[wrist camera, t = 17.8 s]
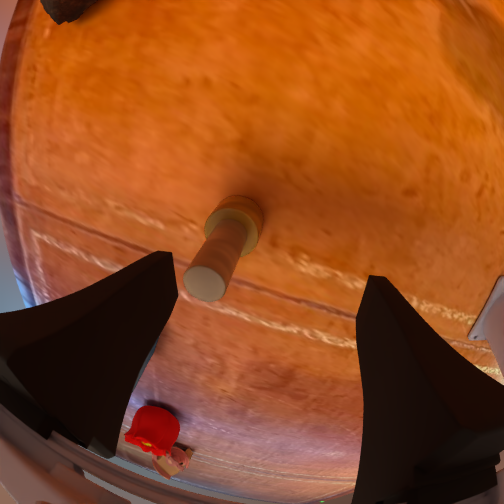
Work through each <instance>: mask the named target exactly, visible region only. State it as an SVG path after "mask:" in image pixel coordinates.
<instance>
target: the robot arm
mask: <svg viewBox="0 0 504 504" xmlns="http://www.w3.org/2000/svg"><path fill="white" fill-rule="evenodd" d="M177 298H178V290H177V283H176V277H175V270H174V263H173V256H172V252H165V251H156V252H153V253H151V254H149V255H147V256H145V257H143V258H141V259H139V260H138V261H136V262H134V263H132V264H130V265H128V266H127V267H125V268H123V269H121V270H119V271H117V272H116V273H114V274H112V275H110V276H108V277H106V278H104V279H102V280H100V281H98V282H96V283H94V284H93V285H90V286H88V287H86V288H84V289H82V290H80V291H77V292H75V293H72V294H70V295H68V296H65V297H62V298H59V299H56V300H53V301H50V302H47V303H45V304H41V305H38V306H34V307H30V308H26V309H22V310H17V311H12V312H6V313H0V483H1V485H2V486H3V487H4V488H5V490H6V491H7V492H8V493H9V495H10V496H11V497H12V498H13V499H14V500H15V502H16V503H17V504H131V502H130V501H129V500H127V499H124V498H122V497H120V496H118V495H116V494H114V493H112V492H110V491H108V490H106V489H104V488H103V487H101V486H99V485H97V484H95V483H93V482H92V481H90V480H88V479H86V478H85V476H84V472H83V470H85V471H86V472H88V473H90V474H92V475H94V476H96V477H98V478H100V479H101V480H103V481H105V482H107V483H110V484H111V485H114V486H116V487H118V488H120V489H122V490H124V491H127V492H129V493H131V494H133V495H136V496H138V497H141V498H143V499H146V500H149V501H151V502H154V503H157V504H244V503H238V502H232V501H227V500H222V499H217V498H213V497H209V496H204V495H201V494H196V493H193V492H189V491H186V490H182V489H179V488H176V487H172V486H169V485H166V484H163V483H161V482H157V481H155V480H152V479H149V478H147V477H144V476H142V475H139V474H136V473H134V472H132V471H129V470H127V469H124V468H122V467H120V466H118V465H116V464H113V463H111V462H109V461H107V460H105V459H103V458H101V457H99V456H97V455H95V454H93V453H91V452H89V451H87V450H85V449H88V450H90V451H92V452H94V453H96V454H98V455H100V456H102V457H104V458H107V459H109V458H112V457H114V456H115V453H116V448H117V443H118V438H119V434H120V429H121V426H122V422H123V419H124V415H125V412H126V408H127V405H128V402H129V399H130V396H131V393H132V391H133V388H134V385H135V383H136V380H137V378H138V375H139V373H140V370H141V368H142V366H143V364H144V362H145V360H146V358H147V356H148V355H149V353H150V351H151V349H152V347H153V346H154V344H155V342H156V340H157V339H158V337H159V335H160V334H161V332H162V330H163V328H164V326H165V325H166V323H167V321H168V319H169V317H170V315H171V313H172V311H173V308H174V306H175V303H176V300H177ZM468 339H469V340H487V341H488V343H489V345H490V347H491V349H492V352H493V354H494V356H495V358H496V361H497V363H498V365H499V368H500V370H501V372H502V375H503V377H504V276H501V277H500V278H499V279H498V281H497V283H496V286H495V288H494V290H493V292H492V294H491V296H490V298H489V300H488V301H487V303H486V305H485V307H484V309H483V311H482V313H481V314H480V316H479V318H478V320H477V321H476V323H475V325H474V327H473V328H472V330H471V332H470V333H469V335H468ZM356 343H357V350H358V357H359V365H360V372H361V380H362V388H363V401H364V412H363V434H362V446H361V455H360V462H359V469H358V475H357V480H356V485H355V490H354V495H353V499H352V503H351V504H504V468H503V469H501V470H500V471H498V472H496V469H495V465H497V464H499V463H500V455H499V453H500V452H501V451H502V450H504V385H502V384H501V383H499V382H497V381H496V380H494V379H493V378H491V377H490V376H488V375H487V374H485V373H484V372H482V371H481V370H480V369H478V368H477V367H476V366H474V365H473V364H472V363H470V362H469V361H468V360H467V359H465V358H464V357H463V356H462V355H460V354H459V353H458V352H457V351H456V350H455V349H453V348H452V347H451V346H450V345H449V344H448V343H447V342H446V341H445V340H444V339H442V338H441V337H440V336H439V335H438V334H437V333H436V332H435V331H434V330H433V329H432V327H431V326H430V325H429V324H428V323H427V322H426V321H425V320H424V319H423V318H422V317H421V316H420V315H419V314H418V313H417V311H416V310H415V309H414V308H413V307H412V306H411V305H410V304H409V302H408V301H407V300H406V299H405V298H404V297H403V296H402V294H401V293H400V292H399V291H398V290H397V289H396V288H395V287H394V285H393V284H392V283H391V282H390V281H389V280H388V279H387V278H386V277H384V276H374V275H369V277H368V281H367V284H366V288H365V291H364V294H363V297H362V300H361V304H360V307H359V310H358V313H357V316H356ZM78 445H80V446H82V447H84V448H85V449H84V448H82V447H80V446H78ZM82 469H83V470H82Z"/></svg>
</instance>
